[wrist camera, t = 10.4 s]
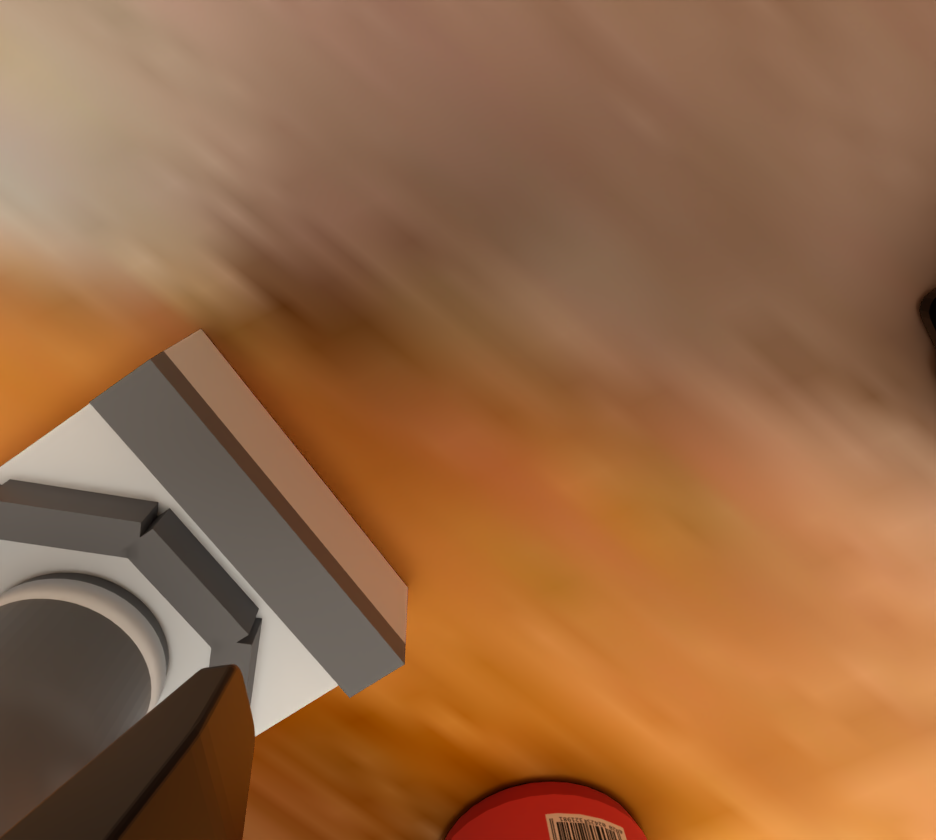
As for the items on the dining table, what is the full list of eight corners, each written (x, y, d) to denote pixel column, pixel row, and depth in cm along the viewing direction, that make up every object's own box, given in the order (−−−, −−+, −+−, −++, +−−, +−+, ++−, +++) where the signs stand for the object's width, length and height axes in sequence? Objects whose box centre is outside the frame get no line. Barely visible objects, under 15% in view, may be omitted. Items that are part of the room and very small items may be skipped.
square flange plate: (200, 328, 20) (144, 362, 16) (408, 587, 23) (404, 671, 19) (-141, 570, 22) (-269, 655, 18) (92, 785, 24) (27, 900, 20)
